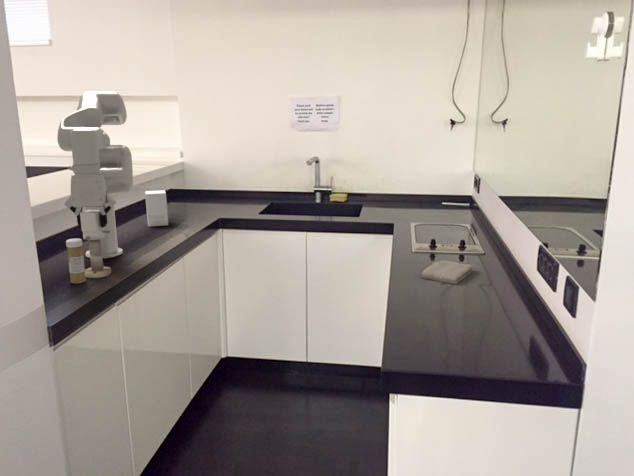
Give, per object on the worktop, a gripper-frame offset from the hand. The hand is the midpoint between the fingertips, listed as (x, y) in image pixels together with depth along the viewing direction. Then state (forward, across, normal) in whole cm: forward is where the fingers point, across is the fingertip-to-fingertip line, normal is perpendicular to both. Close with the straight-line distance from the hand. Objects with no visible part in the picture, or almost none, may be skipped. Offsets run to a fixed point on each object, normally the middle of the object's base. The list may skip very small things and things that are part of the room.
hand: (92, 226), depth 169 cm
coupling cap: (+4, +1, 0) cm, 4 cm away
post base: (+16, 0, 0) cm, 16 cm away
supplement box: (+16, +5, +74) cm, 76 cm away
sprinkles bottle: (+16, -4, -7) cm, 18 cm away
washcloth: (+17, +114, -8) cm, 115 cm away
